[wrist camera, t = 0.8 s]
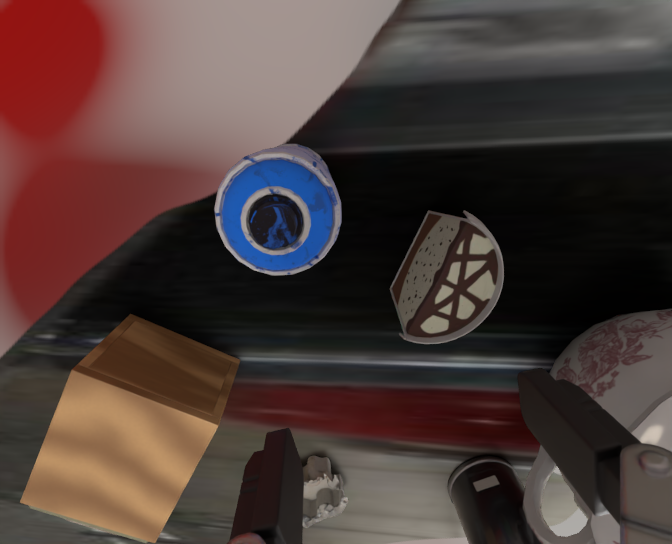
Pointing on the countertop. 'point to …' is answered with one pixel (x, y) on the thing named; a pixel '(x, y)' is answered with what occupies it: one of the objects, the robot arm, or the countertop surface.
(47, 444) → the cabinet
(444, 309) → the brown white half-round block
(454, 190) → the countertop surface
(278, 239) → the aerosol can
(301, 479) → the robot arm
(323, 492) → the egg carton
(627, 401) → the chamber pot
